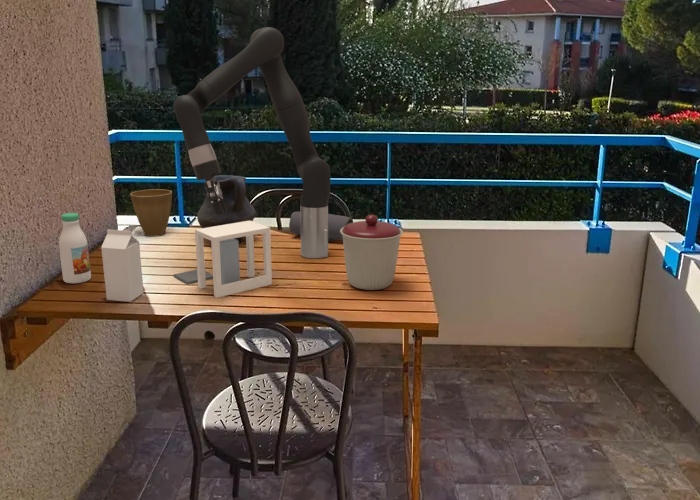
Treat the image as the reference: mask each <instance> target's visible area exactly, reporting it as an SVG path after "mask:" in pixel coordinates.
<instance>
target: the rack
mask: <svg viewBox="0 0 700 500" xmlns="http://www.w3.org/2000/svg"><path fill="white" fill-rule="evenodd" d="M261 234H262V253H263V254H262V255H263V257H262V258H263V275H259V276H256V271H255V246H254V245H255V244H254V235H261ZM271 234H272V233H271V227H270V226H267V225H264V224H261V223H259V222H255V221H254V220H253V221H244V222H238V223H232V224H226V225H220V226H214V227H208V228H202V227H201V228H197V229H194V239H195V240H194V241H195V255H196V270H197V274H198V282H197V288H199V289H202V290H203V289H206V288H207V283H206V281H207V280H206V279H205V271H206V265H205V264H206V263H205V247H204V239H206V240H209V241H210V240H211V241H210V244H211V260H212V261H211V262H212V275H213V279H212V280H213V281H212V282H213V296H214V297H215V298H216V299H218V298H222V297H227V296H230V295H234V294H238V293H242V292H247V291H250V290H254V289H258V288H263V287H267V286H270V285H271V286H272V284H273V277H272V250H271V249H272V245H271V244H272V242H271V239H272V238H271V237H272V235H271ZM238 237H244V238H245V242H246V243H245V245H246V248H245V250H246V270H247V271H246V275H247V277H248V278H246V279H242V280H241V279H240V281H237V282H232V283H228V284H224V285H222V284H221V264H220V243H219V241H222V240H228V239H233V238H238Z"/></svg>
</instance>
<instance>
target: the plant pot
mask: <svg viewBox="0 0 700 500" xmlns="http://www.w3.org/2000/svg"><path fill="white" fill-rule="evenodd" d="M130 199H131V202H132V206H133V207H132V208H133V209H134V212H135V213H134V214H135V215H136V218H137V220H138V224H139V226H140V227H141V228H140V229H142V232H143V234H144V236H147V237H158V236H163V235H165V234H166V231H167V228H168V224H169V220H170V215H171V208H172V201H173V200H172V199H173V191H172V190H170V189H163V188H162V189H161V188H160V189H157V188H156V189H154V188H153V189H143V190H142V189H141V190H137V191H132V192H131V193H130Z"/></svg>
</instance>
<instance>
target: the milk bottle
mask: <svg viewBox="0 0 700 500" xmlns="http://www.w3.org/2000/svg"><path fill="white" fill-rule="evenodd" d="M79 222H80V216H79V213H76V212H65V213H62V214H61V223H62V225H63V226H62V230H61V233H60V236H59V239H58V240H59V241H58V246H59V247H58V248H59V257H60V264H61V266H60V267H61V273H62V279H63V282H65V283H67V284H82V283H85V282H87V281H90V280H91V278H92V272H91V270H92V269H91V264H90V262H91V261H90V254H89V247H88V241H87V237H86V235H85V233H84V232H83V230H82V228H81V226H80V224H79Z"/></svg>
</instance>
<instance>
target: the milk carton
mask: <svg viewBox="0 0 700 500" xmlns="http://www.w3.org/2000/svg"><path fill="white" fill-rule="evenodd" d="M132 232H133V231H132V230H121V229H106V233H107V234H106V235H105V238H104V240H103V243H102V245H101V246H100V248H101V257H102V267H103V275H104V278H103V279H104V285H105V286H104V287H105V293H106V296H105V297H106V300H107V301H115V302H116V301H118V302H133V301H135V299H137V298H138V297H140V296H141V295H143V294H144V284H143V283H144V282H143V281H144V280H143V272H142V269H143V268H142V259H141V258H142V257H141V248H140V247H141V246H140V241H138V239H137V238H136V237H135V236H133V234H132Z"/></svg>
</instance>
